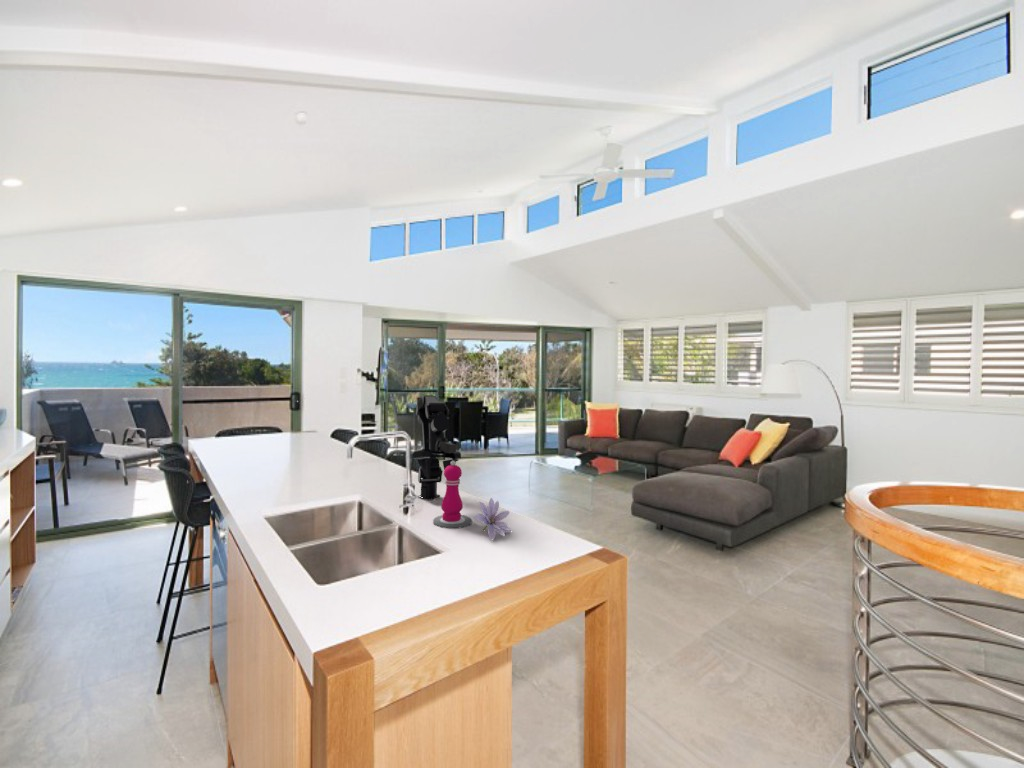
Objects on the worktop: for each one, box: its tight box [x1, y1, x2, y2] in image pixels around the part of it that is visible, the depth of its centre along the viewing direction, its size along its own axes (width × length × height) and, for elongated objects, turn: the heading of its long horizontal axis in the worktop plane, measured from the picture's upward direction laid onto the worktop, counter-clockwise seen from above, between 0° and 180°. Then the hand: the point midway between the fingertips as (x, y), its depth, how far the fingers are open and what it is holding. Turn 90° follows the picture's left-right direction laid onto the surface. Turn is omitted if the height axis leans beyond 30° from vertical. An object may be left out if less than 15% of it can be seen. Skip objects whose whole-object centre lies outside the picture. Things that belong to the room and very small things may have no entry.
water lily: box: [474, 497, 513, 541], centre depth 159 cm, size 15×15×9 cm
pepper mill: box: [440, 461, 464, 522], centre depth 170 cm, size 7×7×20 cm
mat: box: [432, 514, 473, 529], centre depth 169 cm, size 13×13×1 cm
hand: (438, 479), depth 179 cm, fingers open, 9 cm apart
